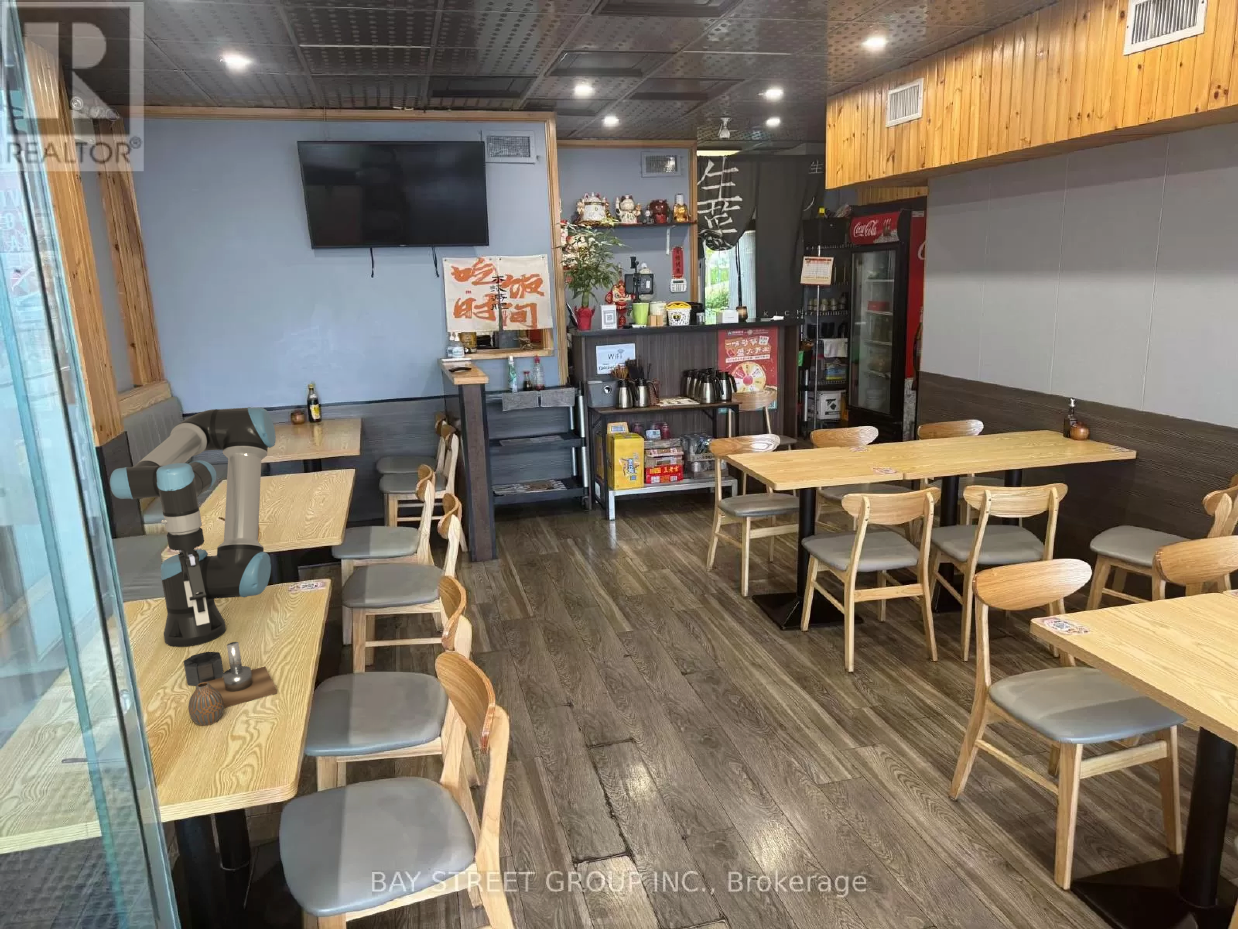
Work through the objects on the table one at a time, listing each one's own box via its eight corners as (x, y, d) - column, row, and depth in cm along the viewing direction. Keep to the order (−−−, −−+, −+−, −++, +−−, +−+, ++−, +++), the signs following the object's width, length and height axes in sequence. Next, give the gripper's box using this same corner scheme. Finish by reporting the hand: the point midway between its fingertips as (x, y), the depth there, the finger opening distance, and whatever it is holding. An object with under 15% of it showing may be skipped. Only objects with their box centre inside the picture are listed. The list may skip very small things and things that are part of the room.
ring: (185, 676, 204) (182, 657, 203) (221, 667, 209) (218, 649, 207) (189, 689, 198) (185, 670, 197) (225, 679, 202) (222, 660, 201)
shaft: (223, 684, 197) (216, 643, 195) (250, 677, 200) (244, 636, 198) (227, 694, 192) (220, 652, 190) (254, 686, 195) (248, 645, 193)
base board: (203, 687, 199) (202, 682, 198) (265, 670, 206) (265, 666, 205) (211, 711, 187) (210, 706, 187) (276, 693, 194) (276, 688, 194)
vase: (216, 709, 188) (211, 674, 186) (231, 719, 183) (225, 682, 181) (185, 722, 183) (179, 686, 181) (200, 732, 178) (193, 695, 176)
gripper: (160, 520, 203) (174, 602, 208) (173, 547, 182) (188, 636, 187) (194, 514, 207) (207, 594, 212) (210, 539, 186) (224, 627, 191)
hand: (198, 614), depth 200 cm, fingers open, 13 cm apart
